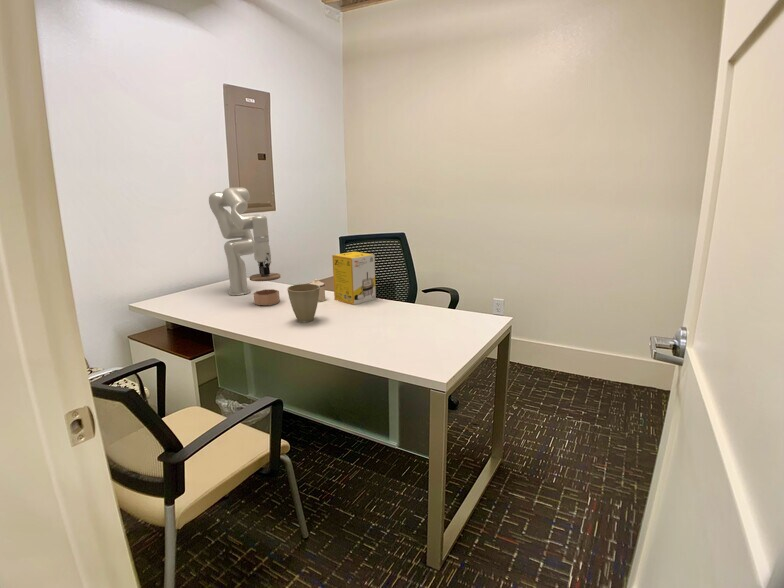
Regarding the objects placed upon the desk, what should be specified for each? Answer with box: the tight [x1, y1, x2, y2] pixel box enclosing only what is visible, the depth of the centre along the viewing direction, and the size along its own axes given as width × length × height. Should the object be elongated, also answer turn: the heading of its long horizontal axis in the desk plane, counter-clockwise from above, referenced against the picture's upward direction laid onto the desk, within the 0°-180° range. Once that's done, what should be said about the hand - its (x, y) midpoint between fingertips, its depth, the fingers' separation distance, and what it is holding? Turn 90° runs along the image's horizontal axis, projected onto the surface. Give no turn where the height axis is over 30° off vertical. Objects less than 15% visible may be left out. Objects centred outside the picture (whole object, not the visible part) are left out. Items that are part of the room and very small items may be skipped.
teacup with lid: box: [308, 278, 326, 303], centre depth 243 cm, size 12×9×12 cm
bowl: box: [252, 289, 281, 306], centre depth 238 cm, size 12×12×6 cm
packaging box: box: [331, 251, 377, 306], centre depth 240 cm, size 16×16×25 cm
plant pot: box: [286, 283, 320, 323], centre depth 207 cm, size 15×15×16 cm
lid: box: [249, 266, 282, 282], centre depth 234 cm, size 16×16×6 cm
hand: (264, 273), depth 235 cm, fingers closed on lid, 4 cm apart
